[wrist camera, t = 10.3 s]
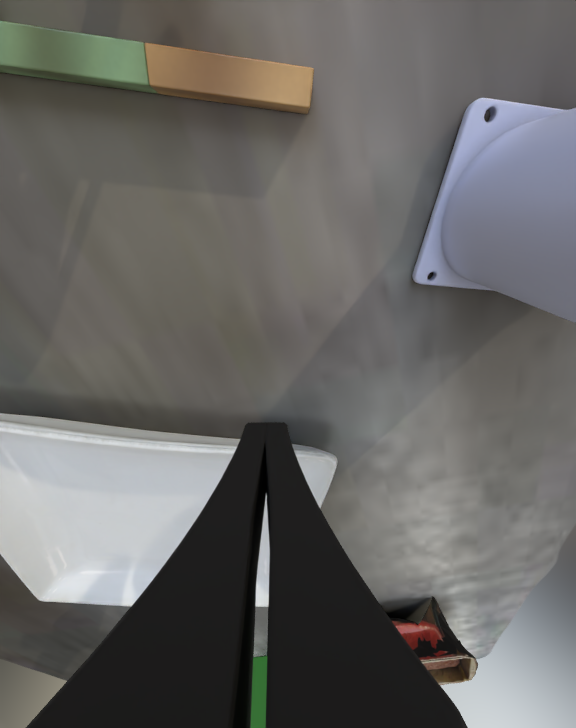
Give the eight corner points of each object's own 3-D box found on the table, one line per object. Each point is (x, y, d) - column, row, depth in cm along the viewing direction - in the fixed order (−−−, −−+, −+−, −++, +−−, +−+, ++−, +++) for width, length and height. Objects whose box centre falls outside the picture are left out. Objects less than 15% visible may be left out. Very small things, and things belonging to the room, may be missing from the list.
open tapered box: (343, 588, 43) (348, 683, 35) (465, 595, 40) (501, 703, 32) (350, 611, 52) (355, 692, 44) (451, 618, 48) (477, 709, 40)
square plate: (333, 420, 22) (344, 460, 18) (281, 573, 36) (281, 611, 32) (-46, 381, 18) (-116, 421, 15) (58, 566, 32) (33, 608, 29)
